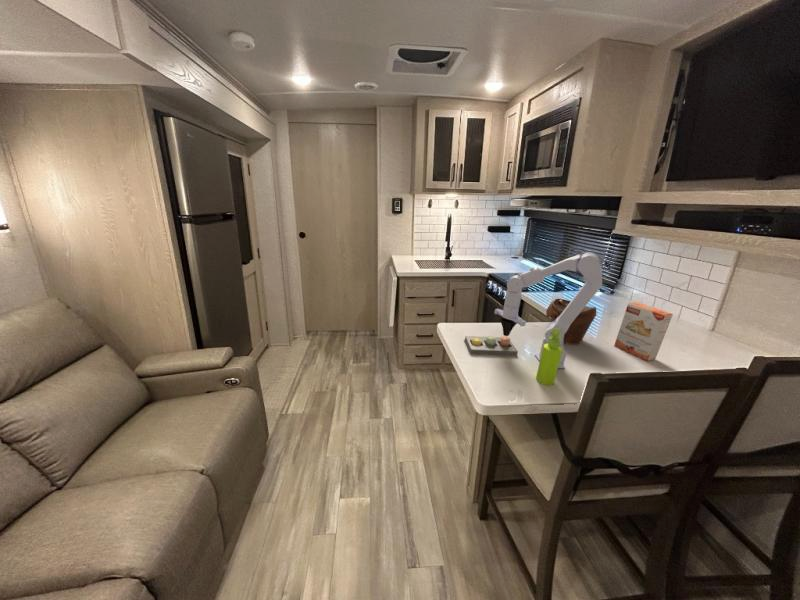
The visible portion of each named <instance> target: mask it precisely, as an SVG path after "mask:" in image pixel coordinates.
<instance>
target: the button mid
mask: <svg viewBox="0 0 800 600" xmlns="http://www.w3.org/2000/svg"><path fill="white" fill-rule="evenodd" d="M486 337H487V338H486V346H495V344H496V338H495V337H496V336H492V335H488V336H486Z"/></svg>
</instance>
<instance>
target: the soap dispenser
mask: <svg viewBox="0 0 800 600" xmlns="http://www.w3.org/2000/svg"><path fill="white" fill-rule="evenodd" d="M561 331H562V330H561V329H558V328H555V329H553V330H552V331H551V332H550V334H552V335H553V336H551V337H550V338H549V343H548V344H545V345H544V346H543V350H542V354H541V359H540V361H539V363H538V368H537V372H536V375H535V379H536V381H537V382H538V383H540V384H542V385H544V386H545V385H546V386H552V385H554V384H555V381H556V380H555V379H556V377H557V372H558V370H559V368H558V365H559V362H560V358H561V354H562V348H560V347H559V345H560V341H561V340H560V338H558V337H559V333H560V332H561Z"/></svg>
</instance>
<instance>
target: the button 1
mask: <svg viewBox="0 0 800 600" xmlns="http://www.w3.org/2000/svg"><path fill="white" fill-rule="evenodd" d="M481 342H482V340H481V339H478V338H473V339H472V343H471V344H472V345H478V346H481Z"/></svg>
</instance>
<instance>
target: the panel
mask: <svg viewBox="0 0 800 600" xmlns="http://www.w3.org/2000/svg"><path fill="white" fill-rule="evenodd" d="M494 337H495V338H496V344H495V346H487V345H486V338H487V336H473V335H465V337H464V342H465V344H466V345H467V348H468V351H469V354H471V355H489V356H490V355H493V356H516V357H517V356H518V353H519V350H518V349H517V348H516V347H515V345H514V344H513V342H512V341H511V340H510V345H509V347H502V346H500V338H501V336H500V337H497V336H494ZM473 338H478V339H481V340H482V342H481V346H478V345H472V344H471V343H472V339H473Z"/></svg>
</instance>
